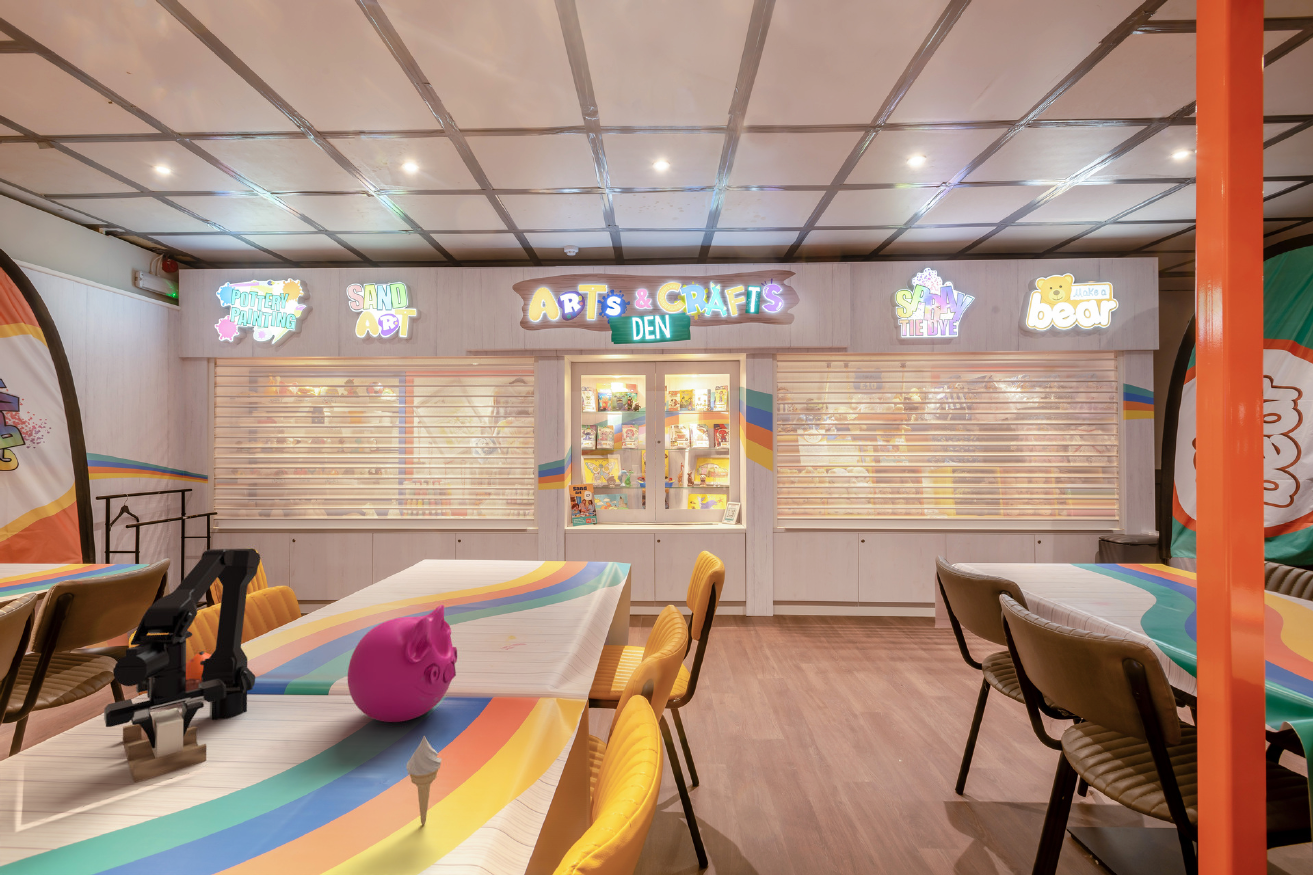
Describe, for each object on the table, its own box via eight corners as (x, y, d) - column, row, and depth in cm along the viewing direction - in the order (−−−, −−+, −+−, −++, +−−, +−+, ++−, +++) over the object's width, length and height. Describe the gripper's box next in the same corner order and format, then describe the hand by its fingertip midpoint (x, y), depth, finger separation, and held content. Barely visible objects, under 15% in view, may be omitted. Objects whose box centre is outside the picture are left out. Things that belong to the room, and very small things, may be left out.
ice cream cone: (412, 815, 103) (412, 728, 104) (445, 813, 104) (445, 726, 104) (401, 836, 98) (401, 744, 98) (436, 834, 98) (436, 742, 99)
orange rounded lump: (190, 689, 158) (191, 646, 158) (236, 684, 161) (237, 642, 161) (168, 708, 146) (169, 661, 146) (219, 702, 149) (219, 657, 150)
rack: (187, 727, 136) (187, 710, 136) (206, 764, 120) (206, 745, 120) (122, 744, 128) (122, 726, 128) (134, 786, 112) (134, 766, 112)
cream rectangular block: (176, 741, 125) (177, 707, 125) (183, 754, 119) (183, 719, 119) (151, 748, 122) (152, 713, 122) (157, 762, 116) (157, 726, 116)
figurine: (436, 740, 130) (436, 625, 130) (326, 740, 130) (327, 625, 131) (471, 696, 153) (471, 598, 153) (378, 695, 154) (379, 598, 154)
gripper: (216, 645, 133) (215, 716, 133) (102, 668, 120) (101, 746, 120) (227, 658, 125) (226, 732, 125) (106, 683, 112) (105, 767, 112)
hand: (167, 743), depth 121 cm, fingers closed on cream rectangular block, 4 cm apart
